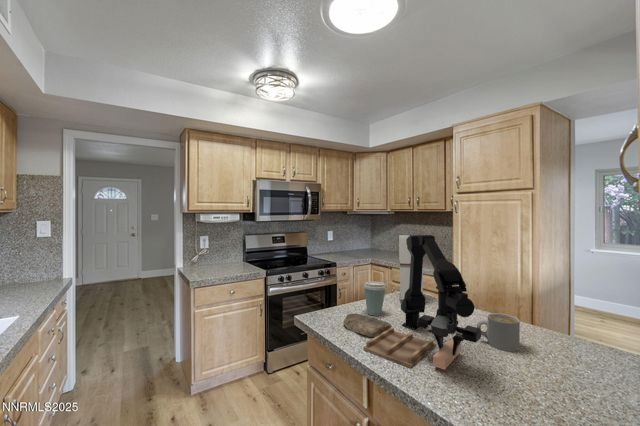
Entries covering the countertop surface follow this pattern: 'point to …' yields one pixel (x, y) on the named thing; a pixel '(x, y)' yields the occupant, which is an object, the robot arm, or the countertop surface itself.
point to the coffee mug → (502, 331)
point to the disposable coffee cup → (374, 297)
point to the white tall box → (405, 266)
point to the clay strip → (445, 355)
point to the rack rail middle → (399, 344)
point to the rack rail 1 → (379, 337)
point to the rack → (399, 349)
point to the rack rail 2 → (420, 351)
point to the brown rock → (365, 325)
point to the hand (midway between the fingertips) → (447, 353)
